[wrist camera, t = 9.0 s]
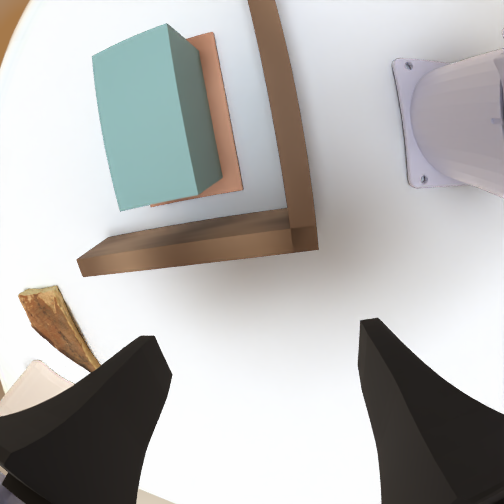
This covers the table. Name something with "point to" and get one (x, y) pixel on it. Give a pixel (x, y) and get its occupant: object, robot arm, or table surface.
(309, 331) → the table surface
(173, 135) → the teal block
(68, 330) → the shard
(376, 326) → the robot arm
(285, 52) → the corner arena
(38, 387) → the jar
